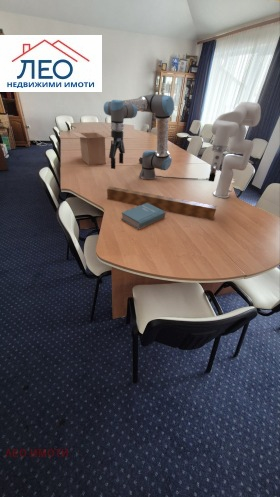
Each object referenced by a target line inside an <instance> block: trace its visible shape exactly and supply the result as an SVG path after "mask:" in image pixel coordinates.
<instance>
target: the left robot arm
mask: <svg viewBox="0 0 280 497" xmlns="http://www.w3.org/2000/svg"><path fill="white" fill-rule="evenodd" d="M174 110H175V100H174V98H173V97H172V96H170V95H167V94H154V93H151V94H146V95H141V96H139V97H138V98H132V99H125V100H122V99H111V101H106V102H104V104H103V112H104V114H105V115H107V116H110V129H111V131H110V135H111V137H110V138H113V140H110V149H109V153H108V154H109V155H108V158H109V159H110V169H113V170H116V154H117V150H118V151H119V153H118V154H119V155H118V164H124V154H125V153H126V149H125V144H124V127H125V125H124V122H125V121H124V120H126V119H133V118H136V117H137V115H138V112H142V113H143V112H145V113H146V112H147V113H151V114H154V118H155V120H156V150H153V149H151V150H145V151H143V152H142V157H143V158H142V157H141V158H142V163H141V169H140V172H139V178H140V179H142V180H146V181H154V180H156V178H162V179H181V180H197V178H193V177H192V178H190V177H175V176H163V175H162V176H161V175H157V174H156V169H157V170H160V171H167V170H168V169H169V168H170V167H171V165H172V160H173V158H172V156H170V152H169V151H168V147H169V146H168V145H169V143H168V141H169V120H170V118H171V116H172V115H173V113H174Z"/></svg>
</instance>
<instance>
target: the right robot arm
mask: <svg viewBox="0 0 280 497" xmlns="http://www.w3.org/2000/svg"><path fill="white" fill-rule="evenodd" d="M261 108H262V107H261V105H260V104H259V103H258V102H252V101H240V102H238V103H237V104H236V105H235V107H234V108H233V109H232V110H231V111H229V112H226V113H222V114H220V115H219V116H217V117H216V119H215V120H214V122H213V124H212V126H211V133H212V134H213V135H214V138H213V144H212V148H211V151H212V152H213V153H212V156H211V157H212V158H211V162H210V172H209V177H208V179H207V180H208V182H213V183H214V182H215V180H216V175H217V174H216V173H217V171H218V172H219V171H220V175H219V179H218V182H217V186H216V189H215V190H214V191H213V192H212V193H213V196H214V197H216V198H220V199H228V198H229V197H230V194H229V193H232V189H230V187H231V185H232V181H233V178H234V170H236V171H245V170H246V168H247V167H248V165H249V162H250V157H251V155H252V152H253V149H254V141H253V140H250V139H245V138H246V134H247V128H246V127H253V128H254V127H256V126H258V125H259V123H260V120H261V117H262V116H261V115H262V114H261V113H262V112H261V111H262V109H261ZM229 140H230V141H229ZM228 144H229V146H228ZM227 148H228V151H229V152H230V153H228V154H225V155H224V153H226V151H227ZM233 153H234V154H233ZM237 154H238V155H237ZM221 164H222V166H221ZM220 168H221V170H220Z"/></svg>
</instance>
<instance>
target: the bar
mask: <svg viewBox="0 0 280 497" xmlns="http://www.w3.org/2000/svg"><path fill="white" fill-rule="evenodd" d="M106 198H107V200H110V201H115V202H121V203H125V204H130V205H136V206H140V205H143V204H145V203H149V204H151V205H153V206H155V207H157V208H159V209H161V210H162V211H166V212H170V213H174V214H181V215H186V216H190V217H195V218H201V219H206V220H210V221H214V219H215V215H216V211H217V205H212V204H208V203H201V202H197V201H192V200H191V201H190V200H185V199H179V198H174V197H168V196H165V195H158V194H153V193H147V192H143V191H137V190H132V189H126V188H121V187H116V186H112V185H111V186H108V187H107V188H106Z"/></svg>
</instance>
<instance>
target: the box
mask: <svg viewBox="0 0 280 497" xmlns="http://www.w3.org/2000/svg"><path fill="white" fill-rule="evenodd" d="M70 133H71V134H72V135H74V136H75V137H77V138H79V144H80V153H81V160H83V162H85V163H86V165H87V166H95V165H97V166H98V165H106V163H107V162H106V158H107V157H106V138H112V137H111V134H109V133H108V132H105V131H98V132H96V131H95V130H92V129H91V130H77V132H76V131H70Z"/></svg>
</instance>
